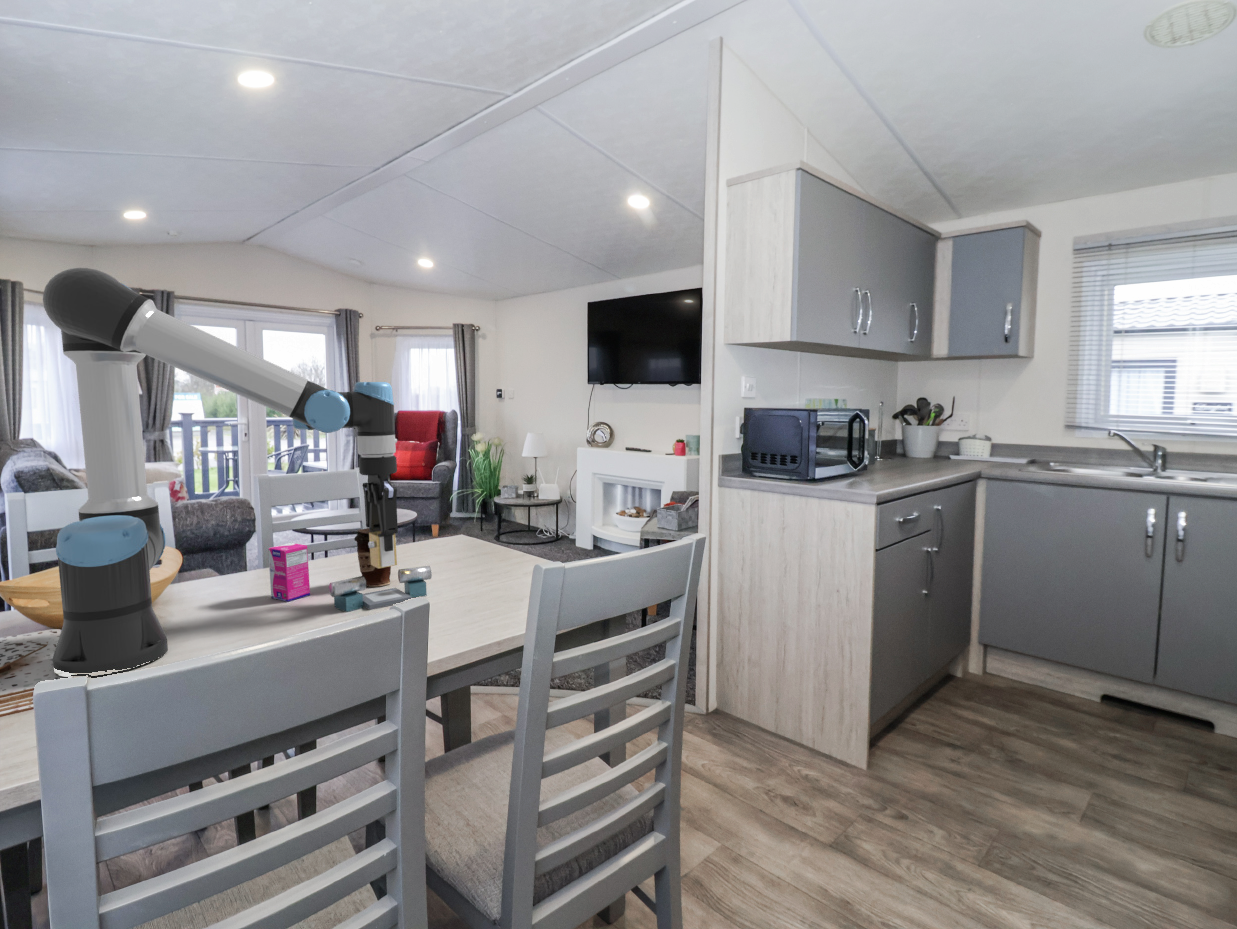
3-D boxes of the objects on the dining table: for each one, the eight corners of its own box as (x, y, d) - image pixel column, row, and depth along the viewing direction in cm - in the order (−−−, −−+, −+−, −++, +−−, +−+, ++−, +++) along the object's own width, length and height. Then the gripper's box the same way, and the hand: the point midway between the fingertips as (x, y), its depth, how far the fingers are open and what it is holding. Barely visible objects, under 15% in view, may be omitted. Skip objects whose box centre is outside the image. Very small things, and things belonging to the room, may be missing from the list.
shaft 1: (339, 613, 133) (338, 584, 132) (327, 609, 136) (326, 580, 135) (369, 606, 138) (368, 578, 137) (357, 601, 141) (356, 574, 140)
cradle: (369, 609, 135) (369, 604, 135) (354, 599, 142) (354, 595, 142) (411, 601, 141) (411, 596, 141) (395, 592, 148) (395, 587, 148)
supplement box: (269, 598, 143) (267, 547, 142) (294, 591, 148) (291, 542, 147) (287, 602, 141) (284, 550, 139) (311, 595, 146) (308, 544, 145)
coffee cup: (369, 591, 149) (366, 534, 147) (349, 585, 154) (346, 530, 152) (402, 582, 155) (400, 528, 154) (382, 577, 160) (380, 524, 159)
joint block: (374, 569, 138) (372, 536, 137) (367, 565, 141) (365, 533, 140) (400, 564, 141) (398, 532, 140) (392, 560, 145) (390, 529, 144)
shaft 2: (402, 599, 142) (401, 572, 142) (397, 593, 147) (396, 567, 146) (433, 594, 146) (432, 568, 145) (427, 589, 150) (426, 563, 149)
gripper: (411, 456, 134) (416, 567, 137) (379, 451, 148) (385, 553, 150) (374, 459, 130) (381, 574, 132) (345, 454, 143) (351, 559, 145)
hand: (383, 563), depth 141 cm, fingers closed on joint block, 4 cm apart
